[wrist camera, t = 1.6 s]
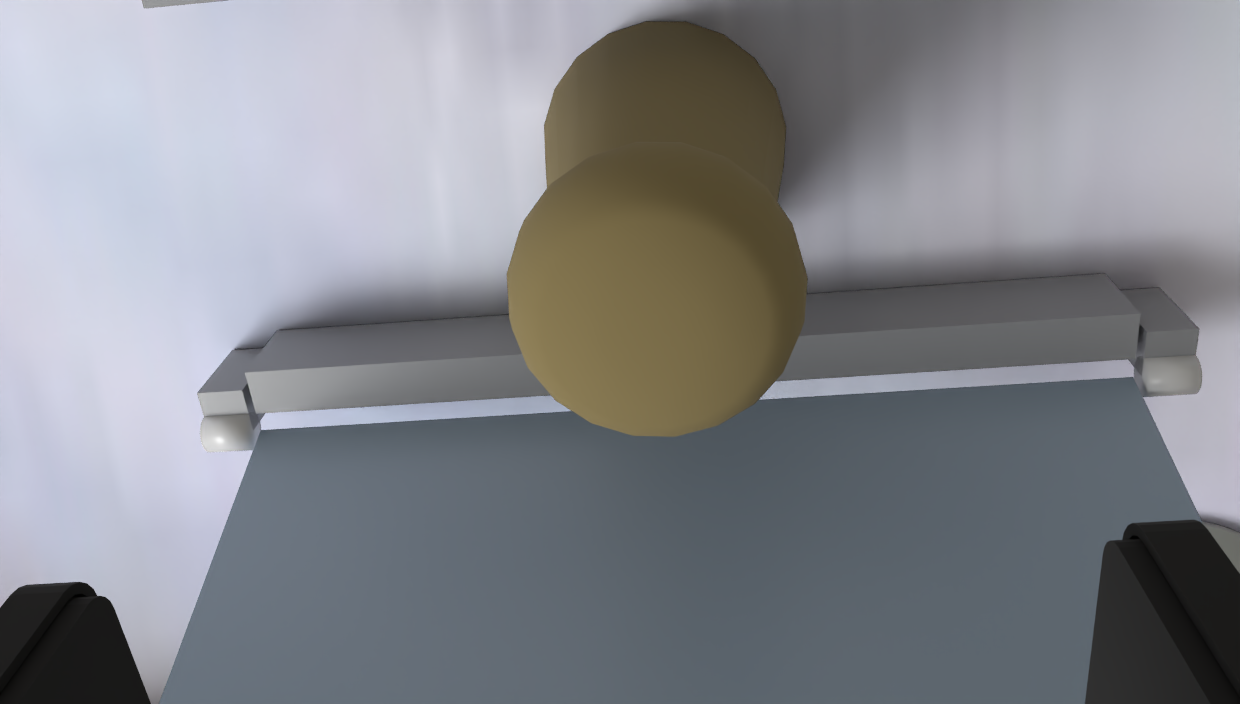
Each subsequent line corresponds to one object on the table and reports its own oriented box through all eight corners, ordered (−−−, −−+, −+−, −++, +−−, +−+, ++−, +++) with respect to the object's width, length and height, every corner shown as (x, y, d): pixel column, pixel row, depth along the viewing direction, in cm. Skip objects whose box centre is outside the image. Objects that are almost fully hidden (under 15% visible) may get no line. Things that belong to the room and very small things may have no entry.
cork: (559, 0, 26) (486, 121, 16) (811, 42, 26) (887, 187, 17) (530, 238, 29) (452, 463, 19) (758, 275, 29) (797, 517, 19)
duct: (1151, 346, 29) (1198, 401, 27) (247, 403, 32) (206, 459, 29) (1215, -169, 24) (1283, -165, 21) (118, -57, 26) (54, -40, 24)
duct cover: (1133, 377, 27) (1125, 406, 28) (260, 430, 29) (272, 456, 30) (1370, 876, 18) (1350, 902, 19) (84, 905, 20) (106, 928, 21)
